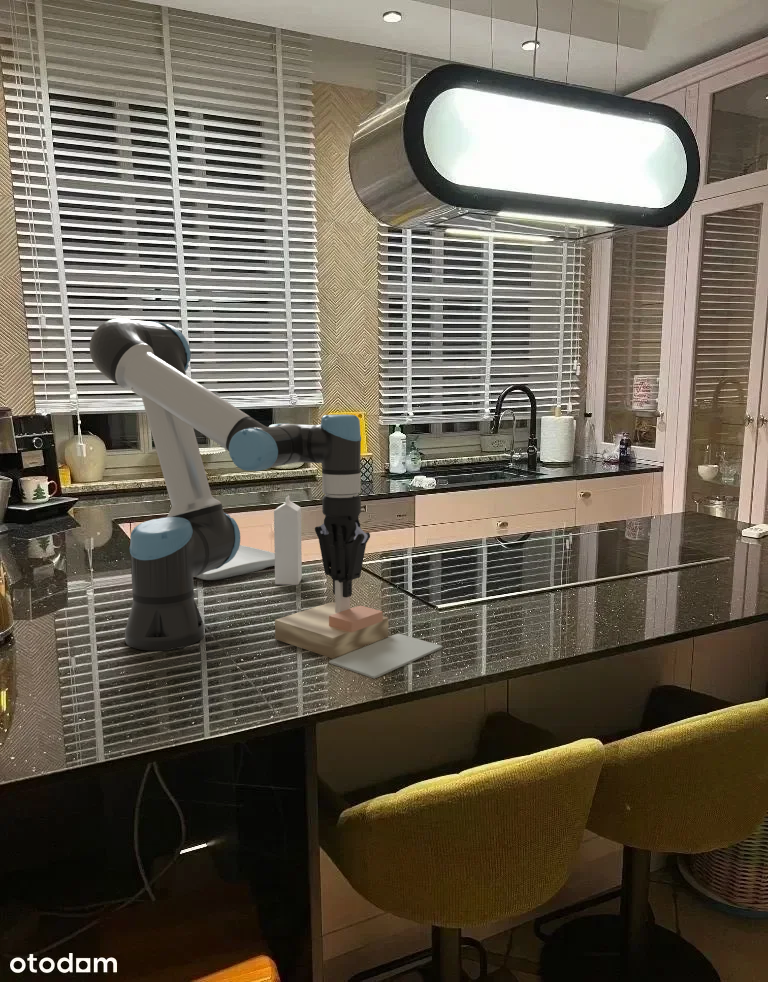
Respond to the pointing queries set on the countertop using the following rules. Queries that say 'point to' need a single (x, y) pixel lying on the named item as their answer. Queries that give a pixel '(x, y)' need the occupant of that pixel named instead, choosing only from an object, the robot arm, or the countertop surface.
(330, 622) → the pink block
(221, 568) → the square plate
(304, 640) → the board
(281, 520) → the milk
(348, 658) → the mat
